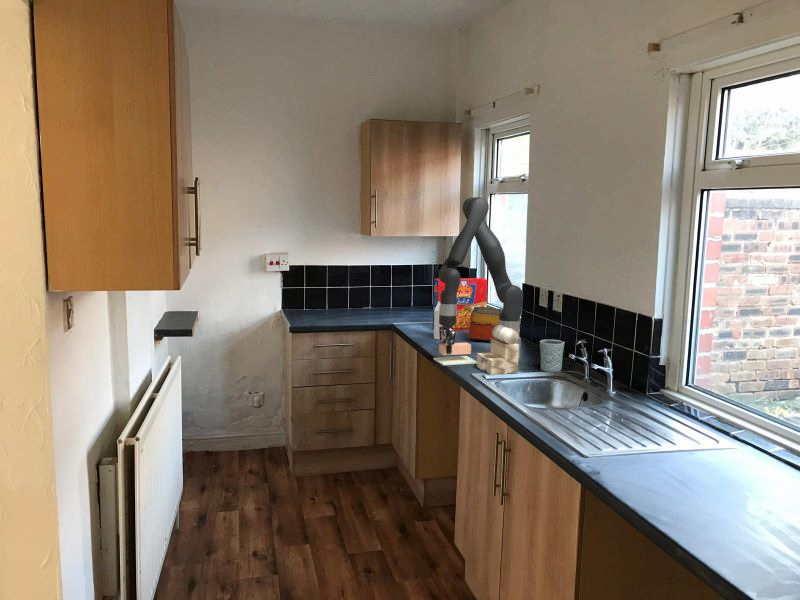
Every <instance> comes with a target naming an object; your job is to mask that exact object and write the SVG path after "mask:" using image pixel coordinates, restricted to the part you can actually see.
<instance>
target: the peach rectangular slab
mask: <svg viewBox="0 0 800 600" xmlns="http://www.w3.org/2000/svg"><path fill="white" fill-rule="evenodd" d="M438 345H439V346H438V354H441V355H442V356H452V355H453V356H454V355H455V356H456V355H457V356H458V355H471V354H472V344H471V343H469V342H455V343H454V345H452V353H451V354H447V353H446V349H447V343H446V344H442V343H439V344H438Z"/></svg>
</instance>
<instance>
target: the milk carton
mask: <svg viewBox="0 0 800 600" xmlns="http://www.w3.org/2000/svg"><path fill="white" fill-rule="evenodd" d="M439 308H440V301H438V304H437V306H436V308H435V313H434V330H433V339H434V340H440V334H439V327H442V325H440V324H439Z"/></svg>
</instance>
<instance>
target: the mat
mask: <svg viewBox="0 0 800 600" xmlns="http://www.w3.org/2000/svg"><path fill="white" fill-rule="evenodd" d="M433 360H434V361H435V362H437V363H439V364H440V365H442V366H452V365H453V366H455V365H457V366H458V365H472V364H476V365H477V360H475V359H473V358H472V357H469V356H467V355H460V356H458V355H457V356H442V357H433Z"/></svg>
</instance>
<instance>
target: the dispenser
mask: <svg viewBox="0 0 800 600" xmlns="http://www.w3.org/2000/svg"><path fill="white" fill-rule="evenodd" d="M492 335H493V337H494V339H491V342H490V351H489V352H477V353H476V355H477V356H476V361H477V363H476V368H478V369H479V368H480V370H486V374H488V373H489V374H488V375H490V374H492V375H491V376H494V375H493V374H501V375H508V374H507V373H516V374H518V373H519V358H518V357H519V344H516V342H517V340H518V333H517V332H516V331H514V330H512V329H509V328H507V327H504V326H502V325H496V326H495V327H494V328H493V330H492Z"/></svg>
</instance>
